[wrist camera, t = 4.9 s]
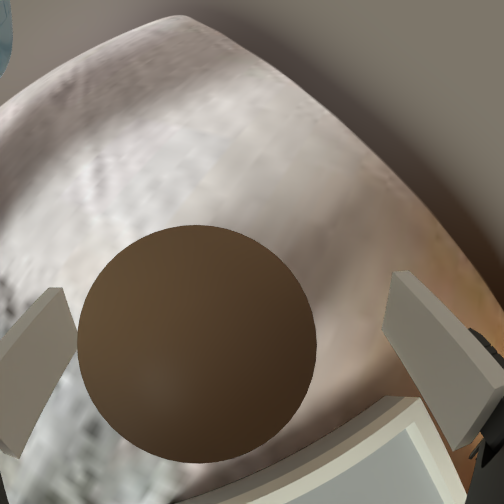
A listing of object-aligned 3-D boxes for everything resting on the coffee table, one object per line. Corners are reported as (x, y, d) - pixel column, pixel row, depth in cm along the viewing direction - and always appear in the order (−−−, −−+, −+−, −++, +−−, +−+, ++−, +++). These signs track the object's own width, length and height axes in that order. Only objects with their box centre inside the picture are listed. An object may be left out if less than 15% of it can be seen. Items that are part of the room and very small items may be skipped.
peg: (182, 349, 16) (53, 285, 5) (246, 317, 17) (241, 190, 6) (216, 414, 15) (139, 492, 4) (282, 380, 15) (361, 387, 4)
